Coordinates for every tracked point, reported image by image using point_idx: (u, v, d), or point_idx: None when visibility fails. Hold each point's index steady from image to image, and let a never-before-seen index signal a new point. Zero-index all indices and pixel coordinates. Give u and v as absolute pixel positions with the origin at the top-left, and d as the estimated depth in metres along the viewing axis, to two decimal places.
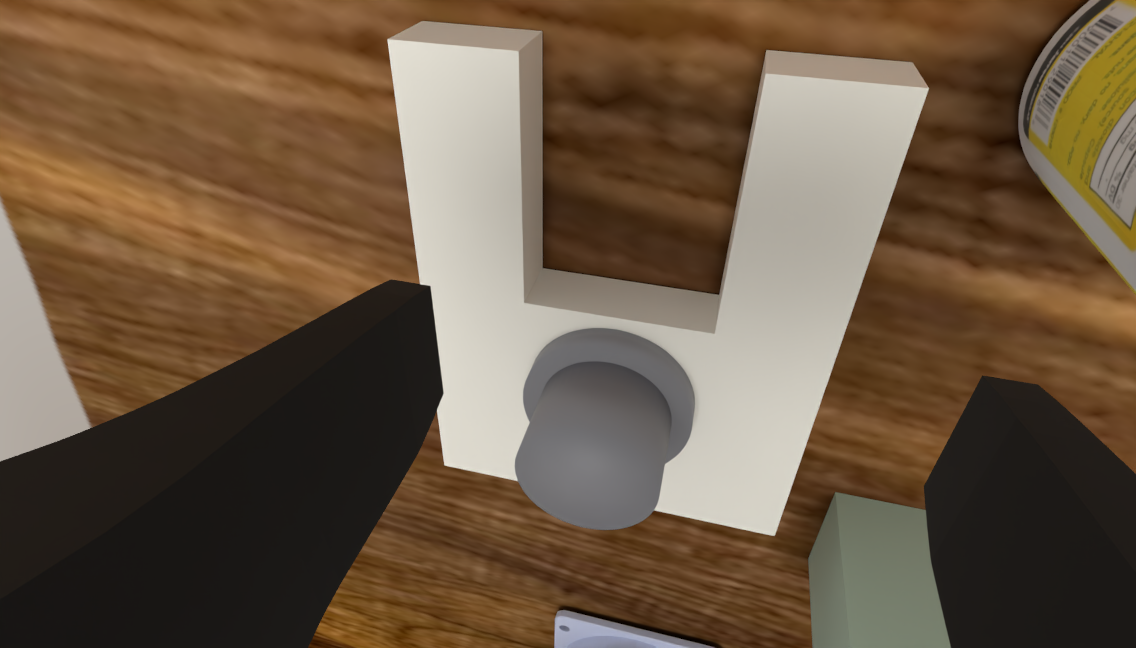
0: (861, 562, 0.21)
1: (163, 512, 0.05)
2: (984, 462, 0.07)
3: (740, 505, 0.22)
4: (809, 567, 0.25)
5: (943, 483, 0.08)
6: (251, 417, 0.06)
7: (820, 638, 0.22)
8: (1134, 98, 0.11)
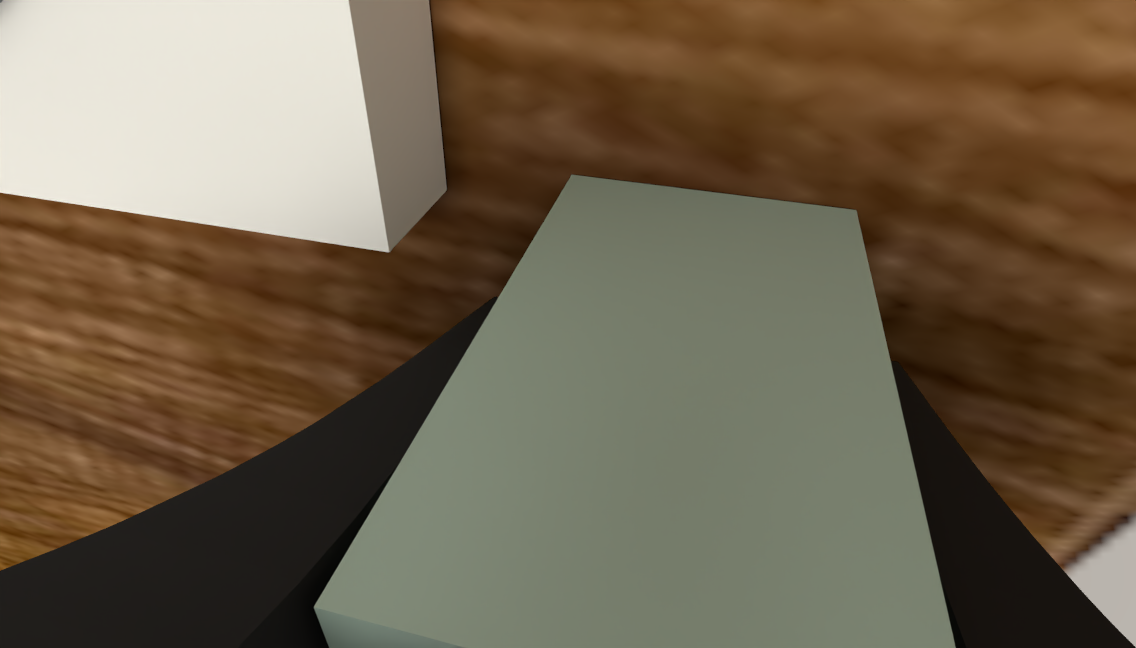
0: (565, 278, 0.07)
1: (340, 556, 0.05)
2: None
3: (277, 155, 0.08)
4: None
5: None
6: (403, 449, 0.06)
7: None
8: None
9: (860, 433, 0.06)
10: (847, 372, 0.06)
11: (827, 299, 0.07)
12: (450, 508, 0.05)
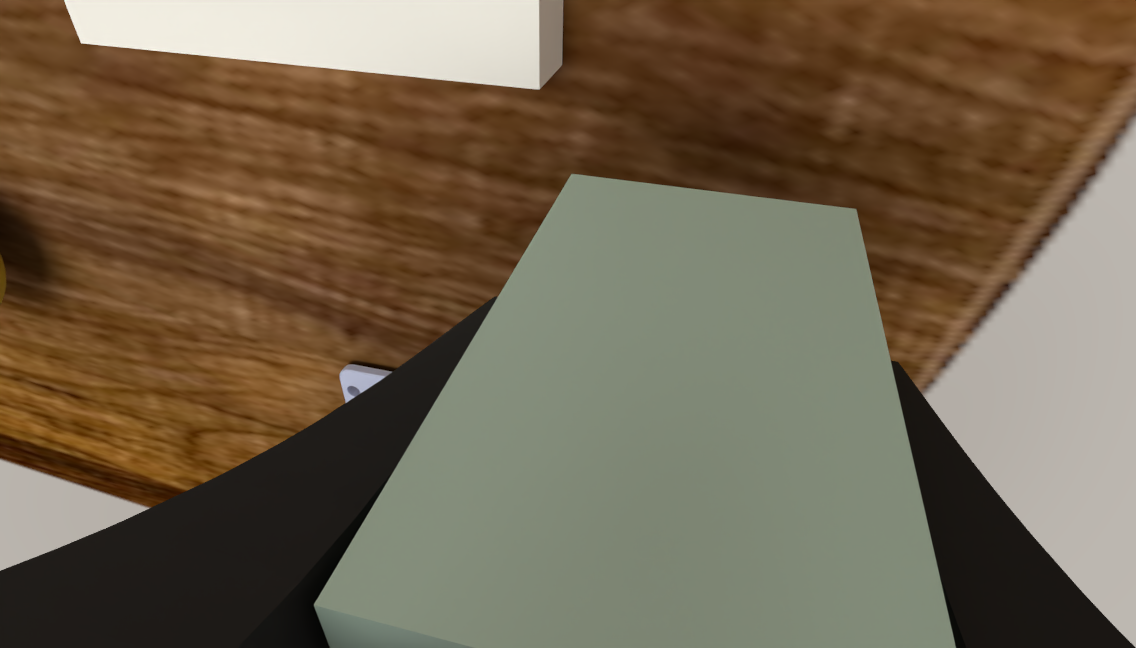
0: (564, 277, 0.07)
1: (340, 556, 0.05)
2: None
3: (477, 26, 0.14)
4: None
5: None
6: (403, 449, 0.06)
7: None
8: None
9: (860, 432, 0.06)
10: (847, 370, 0.06)
11: (828, 297, 0.07)
12: (449, 506, 0.05)
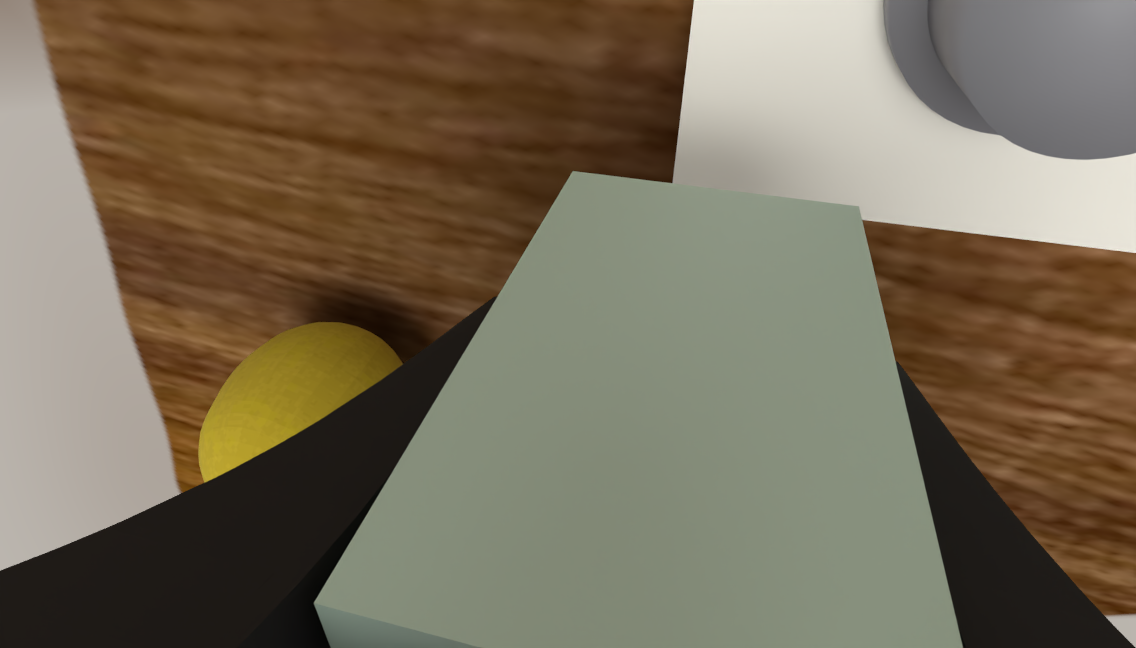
0: (566, 274, 0.07)
1: (340, 556, 0.05)
2: None
3: None
4: None
5: None
6: (403, 449, 0.06)
7: None
8: None
9: (863, 429, 0.06)
10: (851, 368, 0.06)
11: (831, 295, 0.07)
12: (452, 504, 0.05)
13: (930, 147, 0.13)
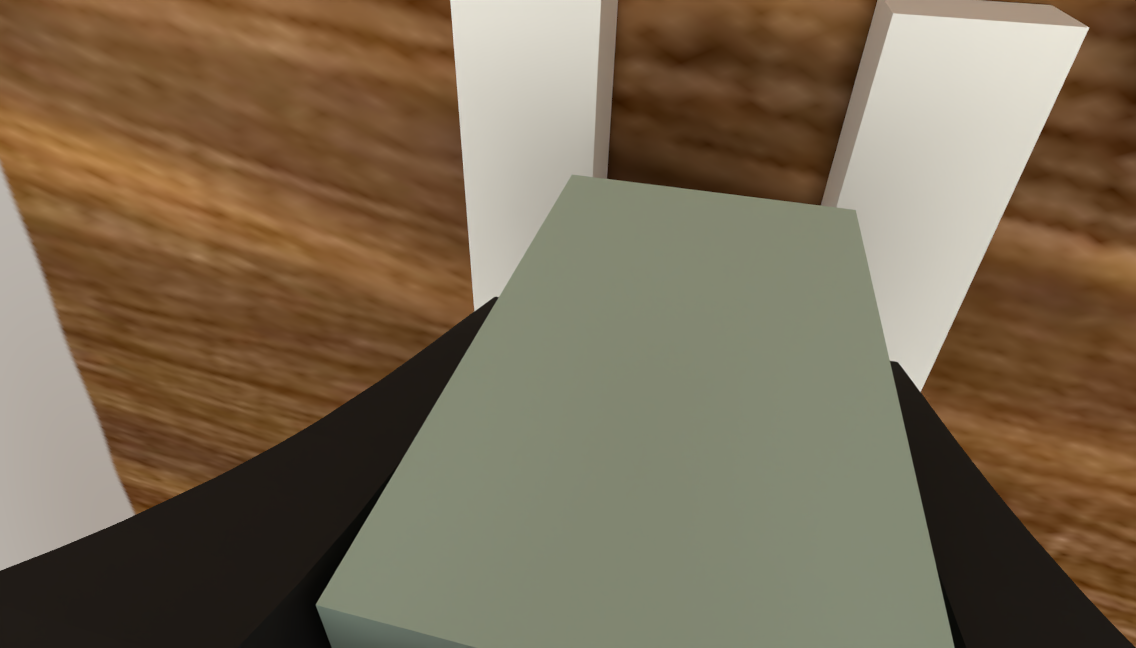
0: (565, 277, 0.07)
1: (340, 556, 0.05)
2: None
3: None
4: None
5: None
6: (403, 449, 0.06)
7: None
8: None
9: (859, 432, 0.06)
10: (846, 372, 0.06)
11: (827, 298, 0.07)
12: (452, 507, 0.05)
13: None
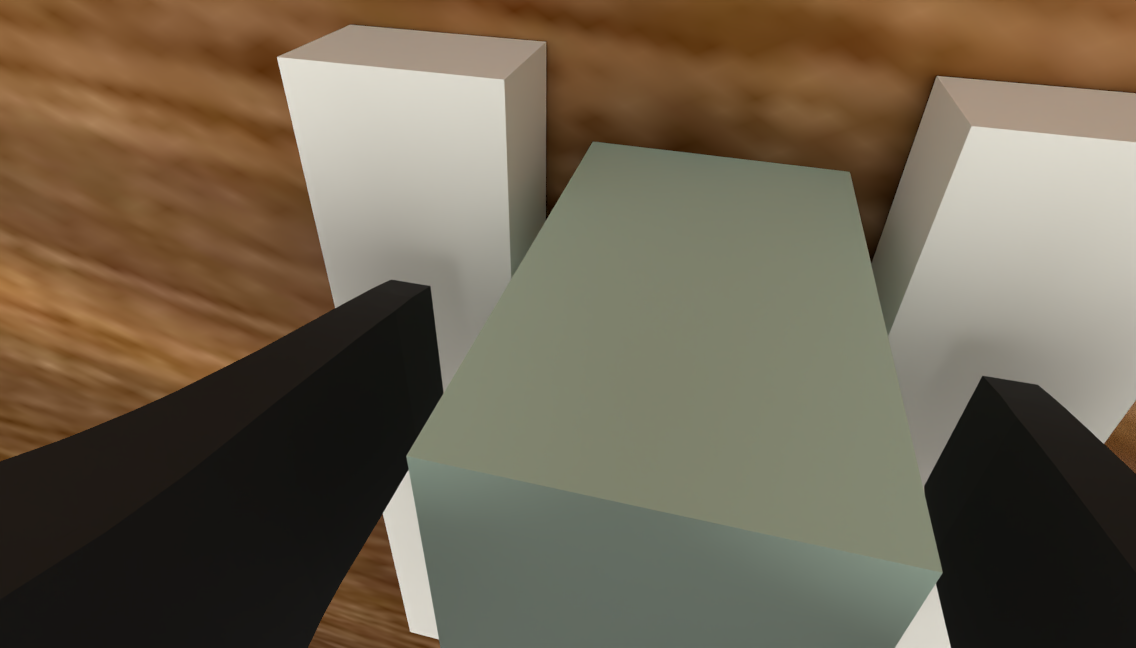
0: (592, 223, 0.08)
1: (163, 512, 0.05)
2: (984, 462, 0.07)
3: None
4: None
5: (943, 483, 0.08)
6: (251, 417, 0.06)
7: None
8: None
9: (850, 340, 0.07)
10: (839, 296, 0.07)
11: (823, 241, 0.08)
12: (510, 392, 0.06)
13: None
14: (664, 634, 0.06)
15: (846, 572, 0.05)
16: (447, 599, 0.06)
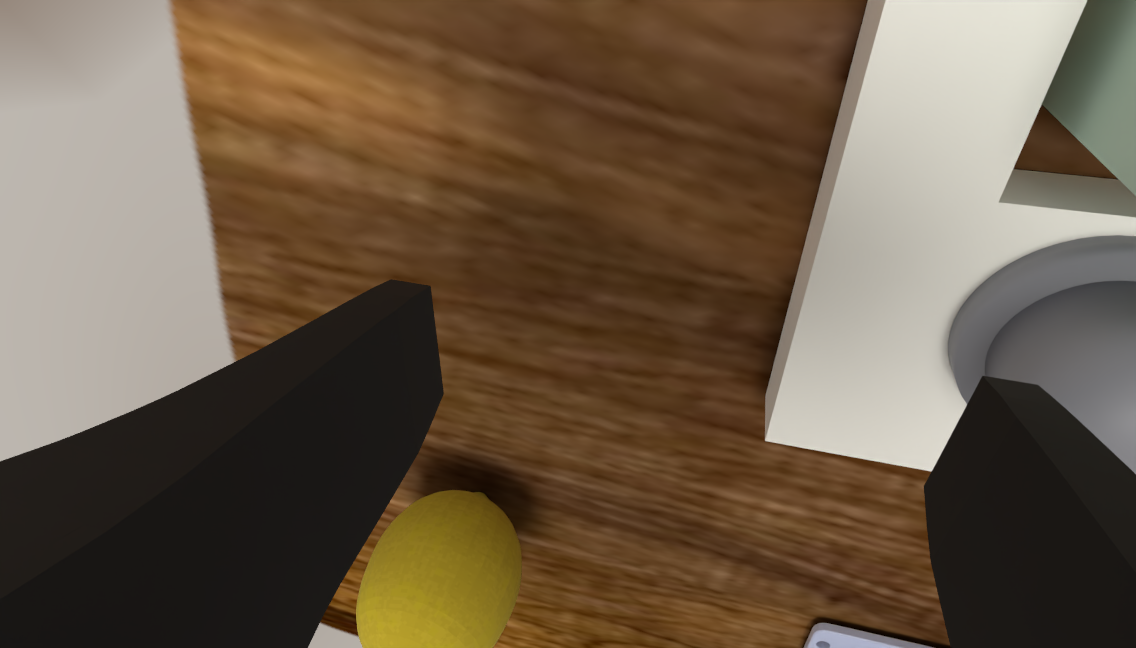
0: None
1: (163, 512, 0.05)
2: (984, 462, 0.07)
3: None
4: (1048, 104, 0.14)
5: (943, 483, 0.08)
6: (251, 417, 0.06)
7: None
8: None
9: None
10: None
11: None
12: None
13: None
14: None
15: None
16: None
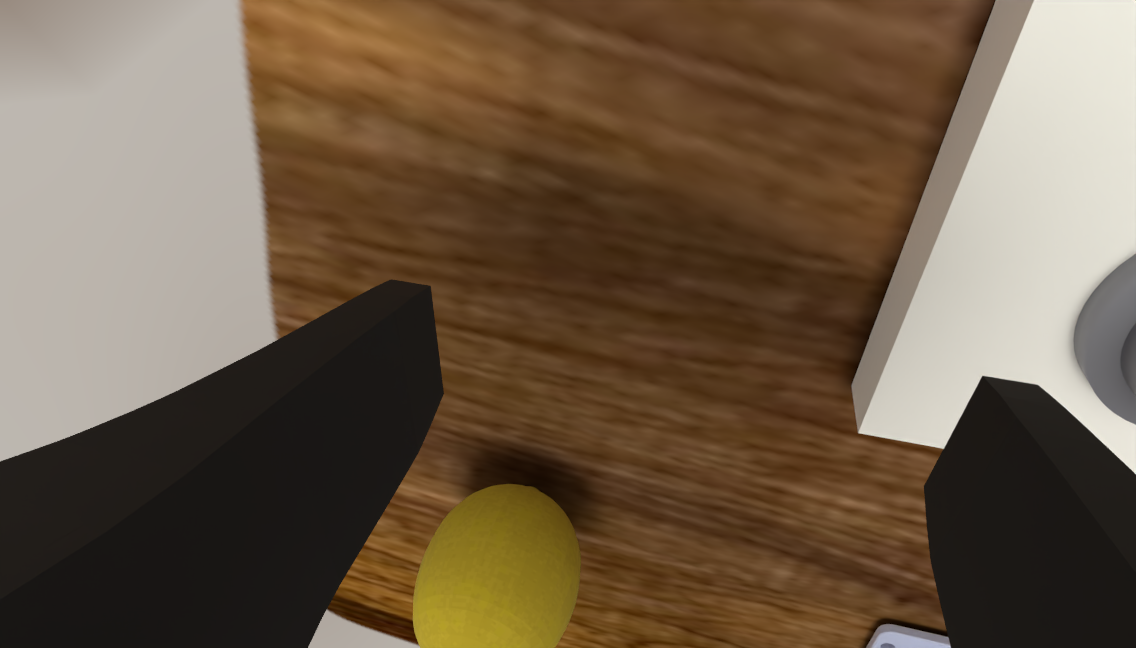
0: None
1: (163, 512, 0.05)
2: (984, 462, 0.07)
3: None
4: None
5: (943, 483, 0.08)
6: (251, 417, 0.06)
7: None
8: None
9: None
10: None
11: None
12: None
13: (1098, 422, 0.16)
14: None
15: None
16: None
